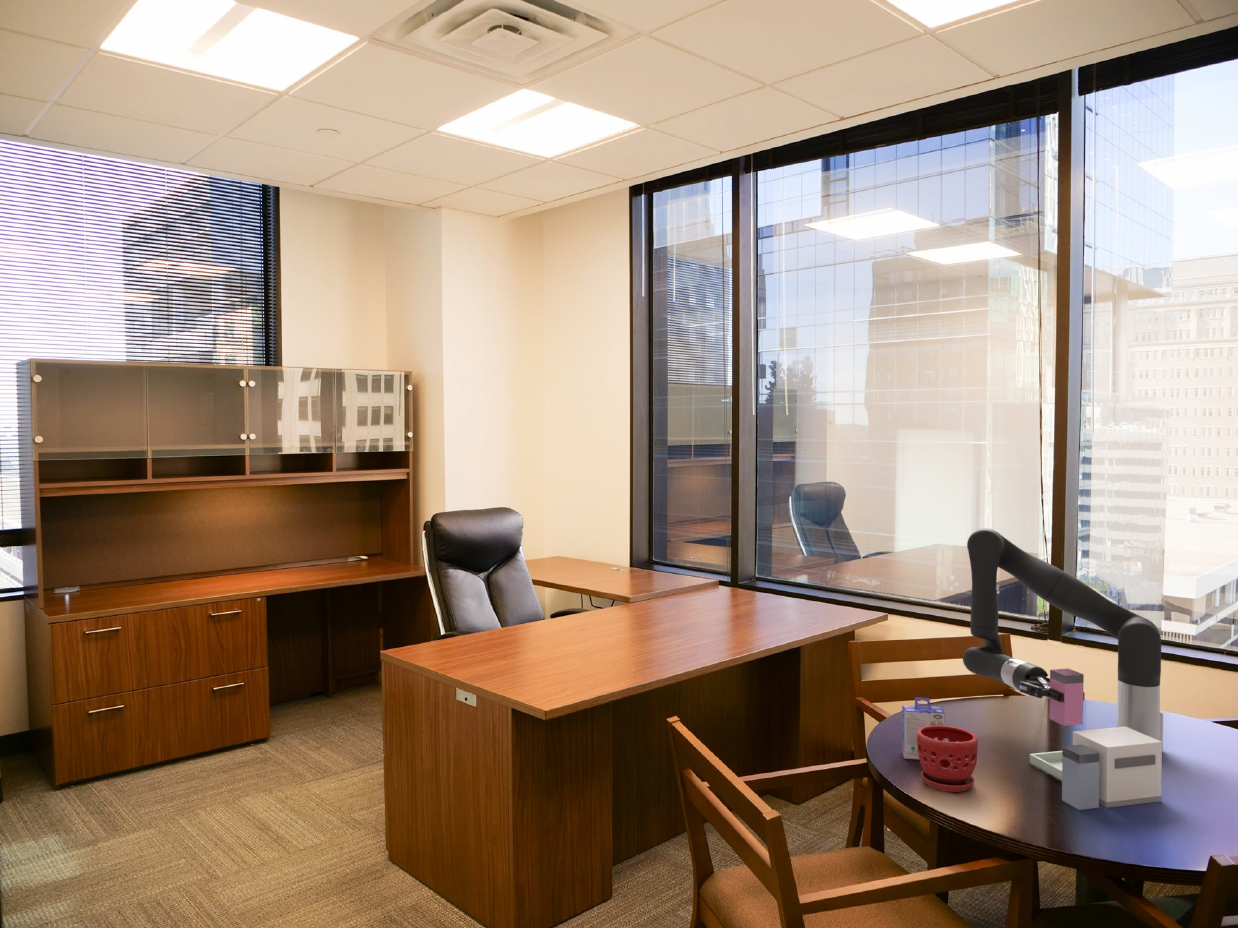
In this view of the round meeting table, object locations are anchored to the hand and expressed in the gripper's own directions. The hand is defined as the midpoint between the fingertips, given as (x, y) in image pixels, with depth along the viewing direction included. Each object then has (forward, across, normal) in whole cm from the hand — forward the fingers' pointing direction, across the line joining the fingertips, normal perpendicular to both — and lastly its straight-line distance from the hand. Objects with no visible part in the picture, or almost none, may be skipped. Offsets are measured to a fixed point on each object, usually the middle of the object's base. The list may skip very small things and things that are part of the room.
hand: (1073, 697), depth 198 cm
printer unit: (+12, +1, +18) cm, 22 cm away
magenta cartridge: (-2, 0, +6) cm, 7 cm away
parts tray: (-2, 0, +18) cm, 19 cm away
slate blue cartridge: (+14, -10, +18) cm, 25 cm away
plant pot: (-2, -32, +19) cm, 37 cm away
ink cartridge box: (-18, -28, +19) cm, 38 cm away
